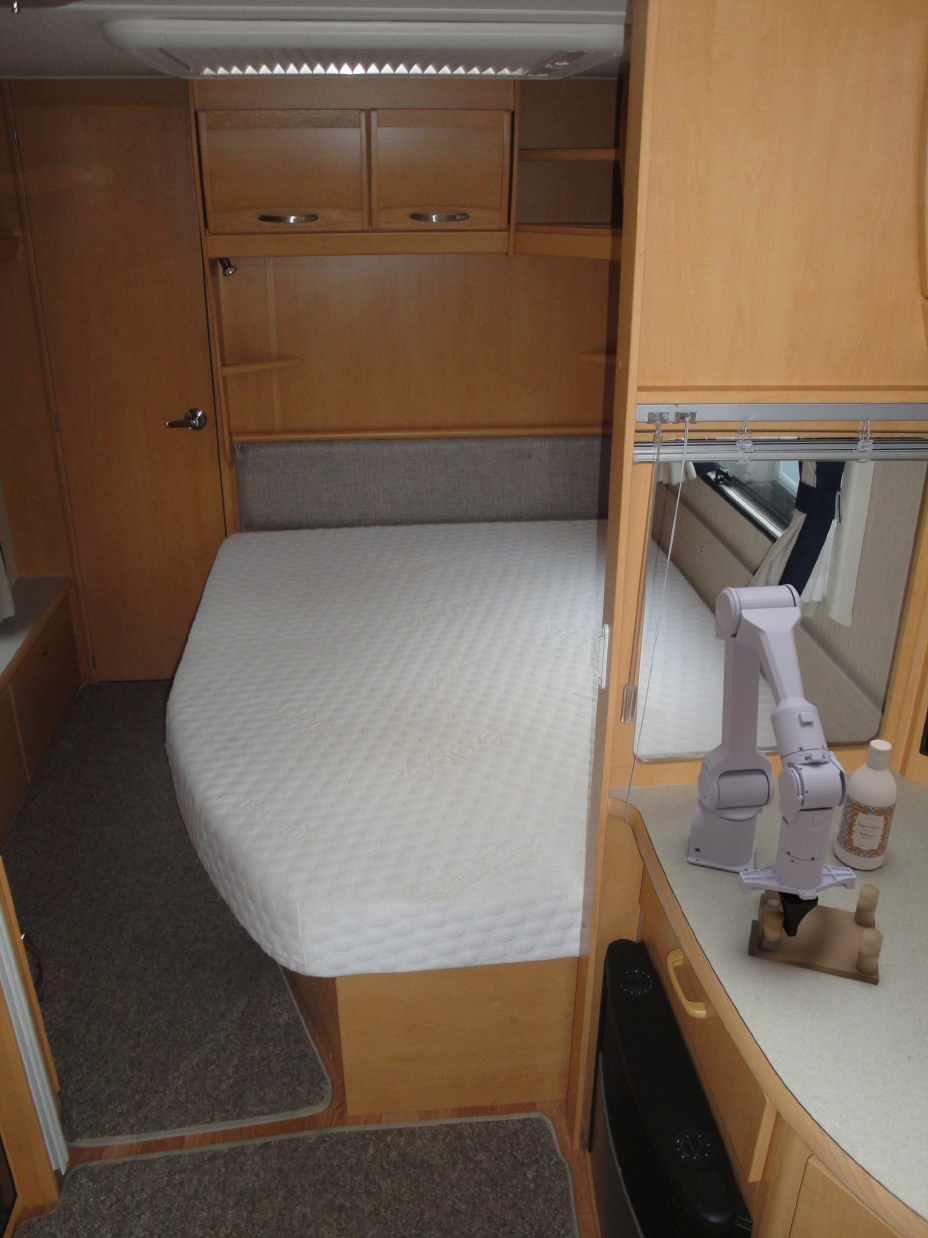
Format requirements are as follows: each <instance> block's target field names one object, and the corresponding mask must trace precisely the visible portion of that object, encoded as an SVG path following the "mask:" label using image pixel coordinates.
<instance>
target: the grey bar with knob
mask: <svg viewBox="0 0 928 1238" xmlns="http://www.w3.org/2000/svg"><path fill="white" fill-rule="evenodd" d="M778 904H779V902H778V901H777V900H775V899H769V900H768V904H765V909H764V919H763V929H762V935H763V936H762V948H766V949H770V950H775V951H778V946H779V940H780V938H781V934H782V928H783V922H784V913H783V912H782V911H781V910H780V907H779V906H778Z"/></svg>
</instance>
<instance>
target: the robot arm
mask: <svg viewBox="0 0 928 1238" xmlns="http://www.w3.org/2000/svg"><path fill="white" fill-rule="evenodd" d="M714 618H715V619H714V629H715V638H716V639H718V640H722V641H724V655H723V656H724V659H723V660H724V661H723V686H722V687H723V688H722V715H721V716H722V718H721V720H722V721H721V723H722V724H721V743H720V744H718V745H717V746H716V747H714V748H713V749H711V750H710V751H708V752H707V753H706V754H704V755H703V756H702V759H701V767H700V771H699V773H698V778H697V789H698V796H699V797H695V802H694V807H693V812H692V819H691V827H690V829H689V833H688V839H687V840H688V842H689V844H688V845H689V846H688V855H687V862H688V863H690V864H695V865H698V866H699V865H700V866H704V867H709V868H714V869H718V870H724V871H729V872H733V873H738V879H737V880H738V881H737V885H738V888H739V890H740V891H741V893H742V895H750V894H751V893H752V891H765V890H775V891H777V892H778V894H779V897H780V900H781V904H782V908H783V913H784V922H783V929H784V930H785V932H786V934H787V936H788V937H795V936H796V934H797V930H798V926H799V924H800V922H801V921H802V919H803V918H804V917H805V916H806V914H807V913H808V912H809V911H811V910H812V909H813V908H814V907H816V906H817V905H819V897H818V893H820V892H823V891H826V890H828V889H832V888H835V887H844V889H846V890H854V889H855V886H856V882H857V881H856V880H857V876H856V874H855V873H854V872H853V870H852V869H851V868H850V867H843V866H842V867H840V866H832V865H826V864H825V860H826V855H827V850H828V843H829V836H830V832H831V827H832V820H833V814H834V809H835V807H841V806H843V804H844V802H845V800H846V797H847V784H848V782H847V778H846V772H845V771H844V767H843V766H842V764H841V763H840V762H839V760H838V759H837V758H836V755H835V753H834V752H833V751H829V749H828V745H827V741H826V737H825V734H824V733H825V732H824V731H823V727H822V723H821V719H820V715H819V711H818V708H817V707H816V706H815V705H813V704H812V703H811V702H809V701H807V700H806V699H805V691H804V687H803V681H802V675H801V669H800V664H799V658H798V651H797V648H796V641H795V636H796V635H797V634H798V631H799V629H800V625H801V620H802V601H801V597H800V594H799V593H798V591H797V590H796V588H795V587H794V586H793V585H792V584H789V583H786V584H782V585H767V586H750V587H748V586H747V587H729V586H728V587H724V588H723V589H722V590H721V592H720V594H719V595H718V596H716V600H715V617H714ZM761 665H762V668H763V672H764V673H765V676H766V681H767V682H768V685H769V688H770V691H771V694H772V697H773V700H774V702H775V708H774V709H773V711H772V713H771V715H770V722H771V727H772V730H773V734H774V738H775V744H776V746H777V747H776V748H777V750H778V755H779V758H780V762H781V766H782V767H781V768H782V769H781V770H780V772H778V776H777V782H778V783H777V784H778V791H779V802H778V805H779V811H780V814H782V815H781V822H780V829H779V836H778V843H777V849H776V857H775V862H774V863H772V864H769V865H765V866H762V867H759V868H757V869H754V862H755V855H756V854H755V853H756V846H757V845H756V844H757V843H756V842H755V837H756V835H755V834H756V828H757V820H758V816H759V815H758V814H763V811H764V807H767V806H770V804H771V803H772V801H773V800H774V796H775V792H776V790H775V786H776V785H775V780H774V776H773V763H772V761H771V759H770V758H769V757H768V755H766V754H765V752H763V751H761V750H760V749H758V748H757V747H758V746H757V745H758V744H757V743H758V724H759V723H758V722H759V721H758V720H759V719H758V718H759V700H760V699H759V698H760V676H761V675H760V674H761V673H760V672H761Z"/></svg>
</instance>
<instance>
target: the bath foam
mask: <svg viewBox="0 0 928 1238" xmlns="http://www.w3.org/2000/svg"><path fill="white" fill-rule="evenodd" d="M892 747H893V746H892V744H891V743H889V742H888V741H886V740H884V739H883V740H882V739H874V740H873V739H872V740H871V741H870V742H869V746H868V751H867V756H866V761H865V763H864V764H862V765H861V766H860V767H858V768H857V769H856V770H855V771H854V772H853V773H852V775H851V776H850V777H849V779H848V782H847V797H846V800H845V802H844V804H843V805H842V807H841V811H840V812H841V814H840V819H839V824H838V829H837V835H836V839H835V840H836V841H835V847H834V853H835V855H836V856H837V858H838V860H840V862H842V863H844V864H845V865H847V867H849V868H850V867H851V868H854V869H856V870H862V871H872V870H875V869H877V868H880V867H881V866H882V865H883V863H884V860H885V855H886V851H887V846H888V841H889V838H890V833H891V827H892V823H893V817H894V813H895V808H896V805H897V801H898V799H897V798H898V790H897V789H898V788H897V783H896V780H895V779H894V776H893V774H892V773H891V771H890V769H889V764H890V763H889V762H890V758H891V755H892Z"/></svg>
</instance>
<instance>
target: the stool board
mask: <svg viewBox="0 0 928 1238" xmlns="http://www.w3.org/2000/svg"><path fill="white" fill-rule="evenodd" d="M880 894H881V893H880V889H879V888H878V887H877V886H875V885H873V884H870V883H869V884H868V883H864V884H862V885H861V886H860V888H859V894H858V897H857V902H856V909H855V912H854V911H850V910H845V909H840V908H835V907H831V906H826V905H820V904H817V906H816V907H814V908H813V909H812V910H811V911H809V912H808V913H807V914H806V916H805V917H804V918H803V919H802V921H801V922H800V924H799V926H798V930H797V934H796V936H795V937H788V936H787V934H786V932H785V930H784V929H783V928H782V934H781V938H780V940H779V946H778V951H775V950H770V949H766V948H762V936H763V935H762V929H763V919H764V909H765V904H768V900H769V899H775V900H777V901H778V902H779V904H778V906H779V907H780V910H781V911H782V912H783V908H782V904H781V900H780V897H779V894H778V892H777V891H775V890H764V892H761V895H760V904H759V915H758V920H757V919H754V918H753V919H752V920H751V927H750V932H749V938H748V939H749V940H748V948H747V949H748V950H747V955H748V956H750V957H756V958H760V959H765V960H769V961H773V962H777V963H782V964H786V965H790V966H794V967H798V968H802V969H808V970H812V971H816V972H819V973H820V972H821V973H826V974H830V975H834V976H837V977H844V978H847V979H852V980H855V981H861V982H865V983H868V984H873V985H876V986H879V982H880V973H879V970H880V969H879V961H880V960H879V958H880V955H881V950H882V947H883V942H884V935H883V933H882V932H881V931H880V930H877V928H876V911H877V907H878V902H879V897H880Z"/></svg>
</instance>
